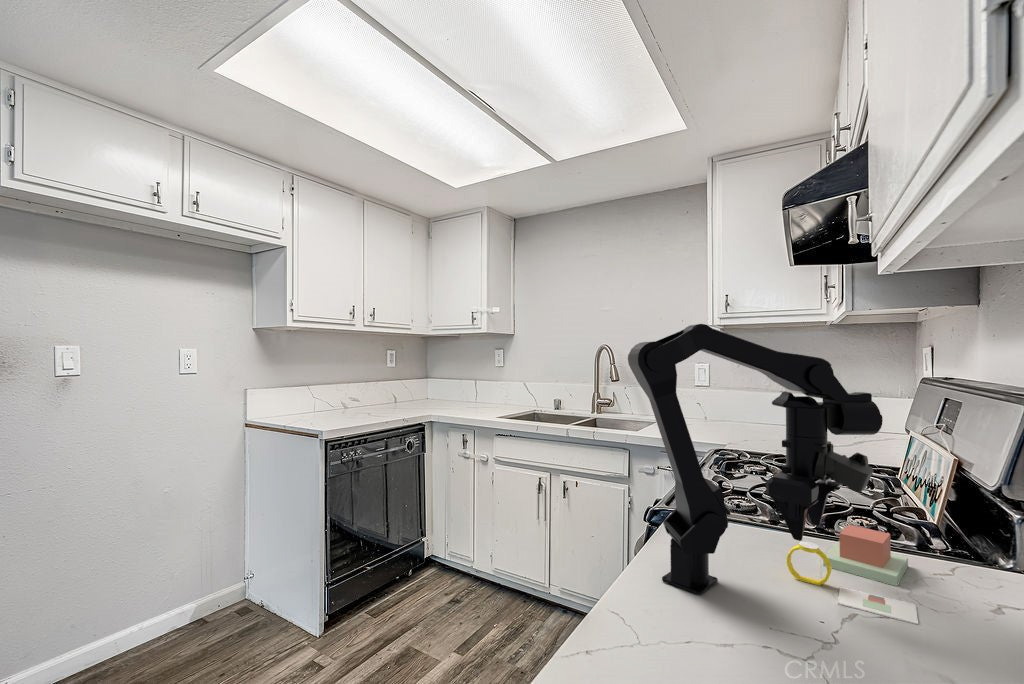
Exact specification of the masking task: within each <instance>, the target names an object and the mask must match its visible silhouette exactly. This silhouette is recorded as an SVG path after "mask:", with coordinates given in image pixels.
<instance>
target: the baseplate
mask: <svg viewBox="0 0 1024 684" xmlns="http://www.w3.org/2000/svg"><path fill="white" fill-rule="evenodd" d="M824 554H825V555H826V556H827V558H828V559H829V561H830V563H831V569H835V570H837V571H842V572H845V573H848V574H852V575H856V576H860V577H863V578H866V579H868V580H869V579H870V580H873V581H877V582H880V583H884V584H888V585H891V586H894V587H898V586H899V583H900V581H901V579H902V578H903V576H904V574H905V573H906V571H907V570H908V566H909V557H907V556H904V555H899V554H894V553H891V558H890V559H889V560H888V562H887V563H886V565H885V566H884V568H880V567H877V566H873V565H869V564H865V563H861V562H858V561H854V560H850V559H846V558H843V557H840V540H838V541H837V542H836V543H835V544H834V545H833V546H832V547H831V548H830V549H829V550H828V551H827V552H826V553H824ZM822 561H823V560H822ZM822 566H824V567H827V565H826V564H825V562H824V561H823V563H822Z"/></svg>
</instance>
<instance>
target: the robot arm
mask: <svg viewBox="0 0 1024 684" xmlns="http://www.w3.org/2000/svg"><path fill="white" fill-rule="evenodd" d="M700 351H701V352H702V353H703V352H704V353H705V354H706V353H707V354H708V355H711V356H714V357H718V358H721V359H723V360H726V361H729V362H731V363H735V364H737V365H739V366H742V367H745V368H747V369H748V368H749V369H750V370H751V369H752V370H754V371H757V372H759V373H761V374H763V375H764V376H766V377H767V378H768V379H770V380H771V381H772V382H774V383H776V384H778V385H779V386H781V387H783V388H785V389H786V390H789V391H792V392H798V393H802V394H804V395H805V396H804V395H803V396H800V395H798V396H797V395H794V394H793V393H792V392H789V391H782V392H781V394H780V395H779V396H777V397H776V398H774V399H773V400H772V401H771V404H772V406H775V407H781V408H785V439H783V440H781V448H785V453H786V454H785V458H786V460H785V461H786V464H784V465H782V466H781V472H779V473H777V474H775V475H773V476H771V477H770V478H769V479H767V480H765V494H766V495H768V496H769V498H770V499H771V500H773V502H774V504H775V506H776V508H777V509H778V511H779V513H780V514H781V517H782V518H783V520H784V523H785V524H786V527H787V529H788V531H789V532H790V535H791V536H792V539H793V540H796V541H799V542H802V540H803V537H804V532H805V527H806V522H807V515H808V518H809V520H810V522H811V524H812V525H813V526H817V527H819V526H820V525H821V522H822V519H823V517H824V516H823V515H824V512H825V508H826V506H827V505H826V504H827V501H828V498H829V495H830V493H831V492H833V491H834V490H836V489H837V488H838V487H840V486H841V485H843V486H846V487H847V489H849V490H850V491H852V492H854V493H855V492H856V493H862V492H863V490H866V488H867V486H868V484H869V481H870V479H871V477H872V476H873V473H874V468H873V467H872V466H871V465H870V464H869V459H868V456H867V455H864V454H863V453H860V452H856V453H854V454H852V455H851V456H849V457H848V456H847V455H846V454H843V455H842V454H840V453H837V452H834V444H833V443H832V441H828V431H829V432H830V433H831V434H832V435H835V436H842V435H843V436H855V435H856V436H858V435H859V436H865V435H866V436H871V435H872V436H873V435H874V436H875V435H876V434H878V433H879V432H880V431H881V429H882V426H883V415H882V413H881V411H880V408H879V407H878V405H877V403H875V402H874V401H873V399H872V396H873V394H871V393H870V392H863V391H855V392H852V393H848V391H847V390H846V389H845V387H844V386H843V385H842V384H841V382H840V381H839V379H838V378H837V377H836V375H835V374H834V369H833V368H832V367H833V366H832V364H831V363H830V362H829V361H828V360H826V359H824V358H822V357H816V356H811V355H806V354H805V355H804V354H799V353H790V352H785V351H783V352H782V351H778V350H774V349H772V348H768V347H767V346H763V345H760V344H757V343H755V342H752V341H749V340H745V339H744V338H740V337H737V336H734V335H732V334H729V333H727V332H724V331H720V330H719V329H715V328H712V327H711V326H709V325H708V324H704V323H698V324H690V325H688V326H686V327H685V328H683V329H682V330H680V331H677V332H675V333H672V334H669V335H667V336H665V337H662V338H660V339H658V340H655V341H644V342H639V343H636V344H635V345H634V346H633V347H632V348H631V349H630V351H629V353H628V355H627V362H628V366H629V367H630V370H631V372H632V374H633V375H634V377H635V379H636V382H637V383H638V384H639V386H640V388H641V389H642V391H643V392H644V393H645V395H646V396H647V398H648V400H649V404H650V406H651V409H652V412H653V415H654V419H655V422H656V425H657V427H658V431H659V434H660V437H661V439H662V442H663V445H664V448H665V452H666V455H667V458H668V461H669V464H670V467H671V471H672V473H673V476H674V480H675V481H674V482H675V484H674V499H675V506H676V508H675V509H674V510H673V511H672V512H670V514H669V515H668V516H667V517H666V518H665V519H664V520H663V521H662V523H663V525H664V529H665V532H666V533H667V535H669V536H670V537H671V539H670V546H669V547H670V571H669V572H667V573H666V574H665V575H663V576H661V581H662V582H664V583H667V584H669V585H672V586H675V587H678V588H680V589H683V590H685V591H687V592H689V593H693V594H696V595H702V594H703V593H705V592H706V591H707V590H709V589H710V588H712V586H714V585H715V584H717V583H718V580H719V579H718V577H716V576H713V575H710V571H709V570H710V569H709V565H710V564H709V563H710V562H709V556H710V555H711V554H712V555H713V554H715V552H716V551H717V547H718V544H719V541H720V538H721V537H722V536H723V535H724V533H725V531H726V530H727V529H728V528H729V527H728V526H729V520H728V519H729V518H728V516H727V515H729V516H730V515H731V512H730V510H729V509H728V508H727V506H726V502H725V497H724V492H723V489H722V488H721V487H719V486H718V485H716V484H714V483H713V482H712V481H710V480H709V479H707V478H705V477H704V474H703V471H702V468H701V465H700V462H699V459H698V456H697V452H696V450H695V446H694V444H693V440H692V437H691V435H690V432H689V429H688V425H687V422H686V420H685V417H684V414H683V410H682V408H681V407H682V406H681V403H680V401H679V398H678V394H677V388H678V387H677V383H678V381H677V380H678V374H677V373H678V372H677V366H676V365H677V364H679V363H682V362H683V361H685V360H687V359H689V358H690V357H692V356H693V355H695V354H696V353H698V352H700ZM815 398H816V399H817V398H818V399H822V401H821V402H820V401H817V400H816V399H815ZM869 465H870V466H869ZM832 480H833V481H832Z"/></svg>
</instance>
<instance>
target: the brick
mask: <svg viewBox="0 0 1024 684" xmlns="http://www.w3.org/2000/svg"><path fill="white" fill-rule="evenodd" d="M838 537H839V541H840V557H843V558H846V559H850V560H854V561H858V562H861V563H865V564H869V565H873V566H877V567H880V568H884V566H885V565H886V563H887V562H888V560H889V559H890V558H891V554H892V553H891V533H887V532H884V531H880V530H874V529H870V528H866V527H862V526H856V525H852V524H847V526H845V527H844V529H843V530H841V531H840V532H839V536H838Z"/></svg>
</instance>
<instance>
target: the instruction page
mask: <svg viewBox="0 0 1024 684" xmlns="http://www.w3.org/2000/svg"><path fill="white" fill-rule="evenodd" d="M837 604H838V605H841V606H845V607H847V608H848V607H849V608H853V609H856V610H860V611H865V612H869V613H873V614H874V615H875V614H876V615H879V616H883V617H887V618H891V619H895V620H899V621H902V622H906V623H910V624H914V625H918V626H919V621H918V612H917V606H916V604H914V603H911V602H907V601H902V600H899V599H893V598H890V597H885V596H881V595H878V594H873V593H869V592H865V591H860V590H857V589H856V590H855V589H852V588H847V587H844V586H840V587H839V593H838V600H837Z"/></svg>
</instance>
